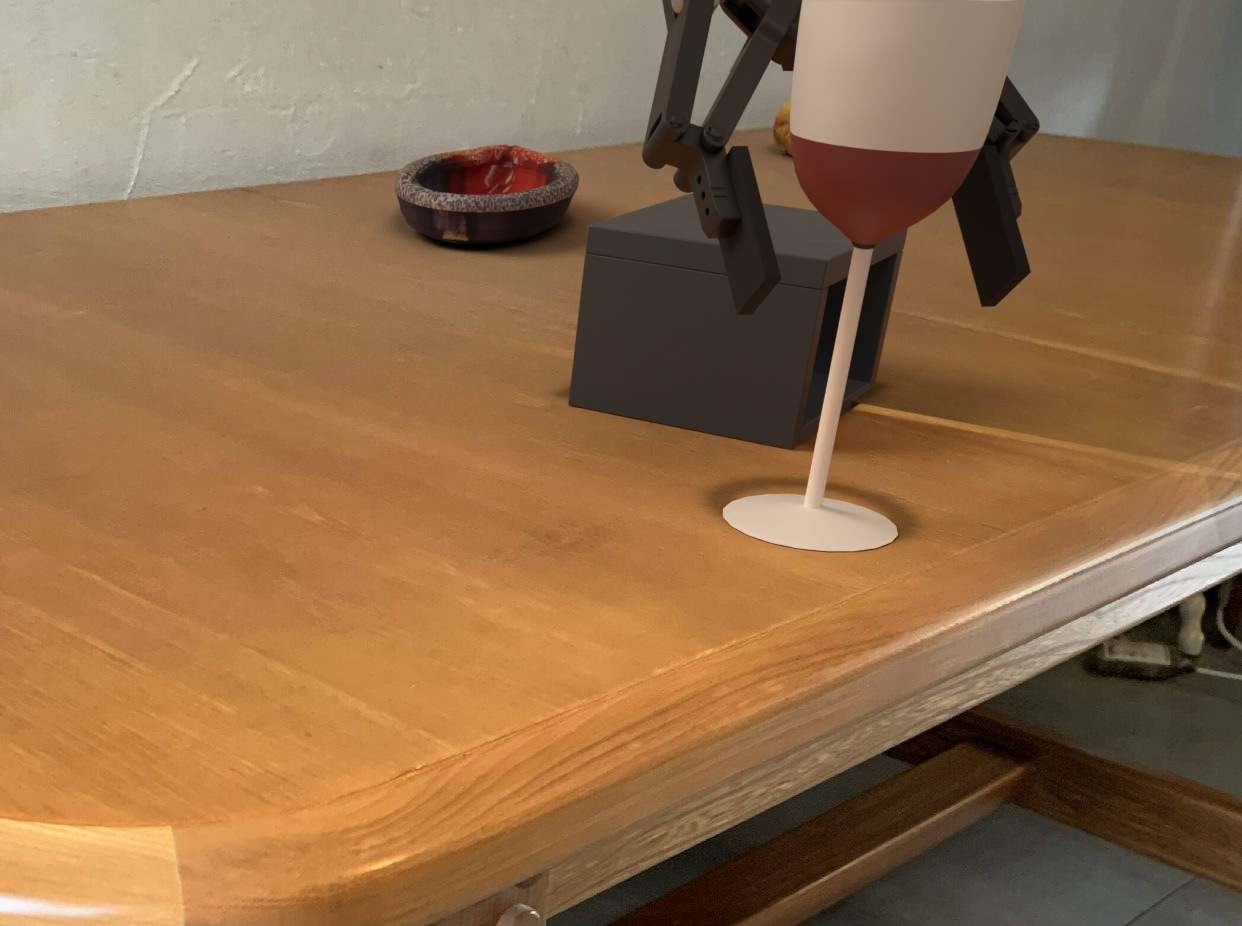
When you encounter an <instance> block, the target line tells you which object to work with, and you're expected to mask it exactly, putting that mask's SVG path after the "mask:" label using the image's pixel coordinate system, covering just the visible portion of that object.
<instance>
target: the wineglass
mask: <svg viewBox="0 0 1242 926" xmlns="http://www.w3.org/2000/svg"><path fill="white" fill-rule="evenodd" d="M1026 4H1027V0H802V5H801V12H800V19H799V27H798V35H797V44H796V53H795V61H794V71H792V72H793V73H792V82H791V93H790V94H791V95H790V97H791V107H790V138H791V149H792V155H791V156H792V162H793V166H794V172H795V175H796V178H797V181H798V184H799V186H800V188H801V190H802V192H803V193H804V195H805V196H806V198H807V200H808V201H809V202H810V203H811V205H812V206H813V207H814V208H815V209H816V211H819V212H820V213H821V214H822V215H823V216H824V217H825V218H826V219H827V220H828V221H830V222H831V223H832V224H833V225H834V226H835V227H837V228H838V229H839V230H840V231H841V232H842V233H843V234H844V235H845V236H846V237H847V238H848V239H849V240H850V241H851V242H852V244H853V246H854V249H853V254H852V259H851V264H850V269H849V275H848V280H847V285H846V290H845V295H844V300H843V305H842V310H841V316H840V321H839V326H838V331H837V336H836V341H835V346H834V352H833V357H832V362H831V367H830V372H829V377H828V382H827V387H826V393H825V398H824V403H823V408H822V413H821V418H820V423H819V429H818V432H817V433H816V438H815V439H816V440H815V445H814V450H813V453H812V454H813V455H812V460H811V466H810V470H809V475H808V480H807V485H806V491H805V494H796V493H765V494H758V495H748V496H744V497H741V498H738V499H735V500H732V501H730V502H729V503H728V504H726V505H725V506H724V507H723V508H722V518H723V519H724V520H725V521H726V523H728V524H729V525H730V526H731V527H732V528H734V529H735V530H738V531H740V532H741V533H743V534H744V535H747V536H749V537H753V538H755V539H759V540H762V541H764V542H768V543H771V544H774V545H775V544H776V545H780V546H783V547H784V546H785V547H789V548H794V549H800V550H810V551H820V552H822V551H823V552H859V551H865V550H871V549H877V548H880V547H883V546H885V545H888V544H891V543H892V542H893V541H894V540H895V538H897V536H899V532H898V528H897V525H896V524H895V523H894V522H893V521H891V520H890V519H889V518H888V517H886V516H885V515H883V514H881V513H878V512H877V511H874V510H872V509H871V508H868V507H865V506H861V505H859V504H855V503H852V502H849V501H845V500H840V499H835V498H829V497H824V495H825V491H826V485H827V481H828V476H829V472H830V471H829V470H830V465H831V460H832V456H833V451H834V446H835V442H836V441H835V440H836V437H837V431H838V425H839V420H840V418H841V417H840V412H841V407H842V402H843V397H844V392H845V387H846V382H847V377H848V372H849V367H850V362H851V357H852V352H853V347H854V342H855V337H856V332H857V327H858V322H859V317H860V312H861V307H862V302H863V297H864V292H865V287H866V282H867V277H868V272H869V267H870V262H871V257H872V252H873V248H874V247H875V246H876V245H877V244H878V243H880V242H882V241H884V240H886V239H887V238H889V237H891V236H893V235H895V234H897V233H899V232H901V231H903V230H904V229H906V228H908V229H909V228H910V227H912V226H915V225H916V224H918V223H920V222H921V221H923V220H924V219H926V218H928V217H929V216H931V215H932V214H934V213H935V212H936V211H938V210H939V209H940V208H941V207H942V206H944V205H945V204H946V203H947V202H948V201H949V200H950V199H952V196H953V194H954V193H955V192H956V191H957V190H958V188H959V187H960V186H961V184H962V183H963V181H964V179H965V178H966V176H967V175H968V173H969V171H970V169H971V168H972V166H973V164H974V162H975V161H976V159H977V157H978V155H979V152H980V150H981V148H982V146H983V144H984V141H985V139H986V137H987V134H988V131H989V129H990V126H991V123H992V120H993V117H994V114H995V111H996V108H997V105H998V102H999V98H1000V95H1001V92H1002V89H1003V85H1004V82H1005V78H1006V75H1007V74H1008V71H1009V68H1010V64H1011V61H1012V57H1013V54H1014V49H1015V45H1016V42H1017V38H1018V35H1019V31H1020V27H1021V24H1022V20H1023V15H1024V11H1025V7H1026ZM1007 76H1008V75H1007Z"/></svg>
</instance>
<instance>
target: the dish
mask: <svg viewBox="0 0 1242 926" xmlns="http://www.w3.org/2000/svg"><path fill="white" fill-rule="evenodd" d="M393 184H394V185H393V187H394V193H395V195H396V198H397V200H398V201H397V202H398V205H399V210H400V212H401V214H402V217H403V218H404V220H405V222H406V223H407V225H408V226H409V227H410V228H411V229H413V230H414V231H416V232H417V233H420V234H422V235H424V236H426V237H428V238H431V239H433V240H438V241H441V242H447V243H452V244H453V243H454V244H463V245H464V244H465V245H466V244H467V245H484V244H485V245H487V244H489V245H490V244H499V243H505V242H506V243H507V242H512V241H518V240H523V239H527V238H530V237H532V236H535V235H538V234H540V233H542V232H544V231H546V230H548V229H550V228H551V227H553V226H555V225H556V224H558V223H559V221H561V219H562V218H563V216H564V215H565V213H566V212H567V210H568V209H569V207H570V205H571V202H572V200H573V197H574V196H575V193H576V192H577V190H578V188H579V185H580V176H579V173H578V171H577V169H576V168H575V166H573V165H572V164H570V163H569V162H567V161H564V160H562V159H559V158H556V157H553V156H549V155H547V154H545V153H541V152H539V151H536V150H533V149H530V148H527V147H524V146H520V145H515V144H513V145H508V144H494V145H493V144H492V145H491V144H490V145H485V146H483V145H482V146H478V147H474V148H468V149H459V150H455V151H454V150H453V151H447V152H441V153H435V154H431V155H427V156H423V157H421V158H417V159H416V160H413V161H411V162H409V163H408V164H405V165H404V166H403V167H402V168H401V169H400V171H398V173H397V175H396V176H395V178H394V183H393Z"/></svg>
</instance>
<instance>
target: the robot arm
mask: <svg viewBox="0 0 1242 926" xmlns="http://www.w3.org/2000/svg"><path fill="white" fill-rule="evenodd" d="M661 3H662V8H663V14H664V19H665V25H666V30H667V33H666V37H665V42H664V47H663V52H662V57H661V61H660V66H659V72H658V76H657V80H656V84H655V90H654V93H653V98H652V103H651V108H650V114H649V116H648V117H649V118H648V121H647V126H646V132H645V137H644V141H643V145H642V150H641V159H642V161H643V163H644V164H645V165H646V166H647V167H649V168H650V169H652V170H661V169H662V168H664V167H665V166H666V165H667V166H670V167H672V168H676V170H675V172H674V174H673V178H672V179H673V184H674V185H675V187H676V188H677V189H678V190H679V191H680V192H683V193H686V194H690V193H692V194H693V195H694V199H695V203H696V207H697V211H698V215H699V219H700V223H701V227H702V230H703V231H704V233H705V234H706V236H707V238H708V239H718V240H719V244H720V248H721V252H722V256H723V260H724V264H725V268H726V272H727V276H728V280H729V284H730V288H731V292H732V296H733V300H734V304H735V308H736V312H737V315H752V314H753V313H754V312H755V310H756V309H757V308H758V307H759V305H760V304H761V303H762V302H763V301H764V299H765V298H766V297H767V296H768V294H769V293H770V292H771V291H772V290H773V288H774V287H775V286H776V285H777V283H778V282H779V281H780V280H781V275H780V271H779V267H778V263H777V259H776V255H775V251H774V248H773V244H772V240H771V236H770V232H769V228H768V224H767V220H766V216H765V212H764V208H763V204H762V203H763V200H762V196H761V192H760V188H759V184H758V181H757V177H756V173H755V170H754V165H753V161H752V157H751V153H750V148H749V146H748V145H732V146H731V147H730V149H729V150H728V152H727V150H726V146H727V144H728V143H729V141H730V139H731V137H732V135H733V134H734V131H735V129H736V127H737V125H738V124H739V122H740V120H741V118H742V116H743V114H744V112H745V111H746V109H747V107H748V105H749V104H750V101H751V99H752V97H753V95H754V94H755V91H756V89H757V88H758V86H759V83H760V82H761V80H762V78H763V77H764V75H765V73H766V71H767V69H768V67H769V65H770V63H771V62H773V63H775V64H777V65H780V66H781V69H782V72H793V71H794V61H795V53H796V44H797V35H798V27H799V19H800V12H801V5H802V0H661ZM719 6H720V8H721V10H722V12H723V13H724V15H726V16H727V17H728V19H729V20H730V21H731V22H732V23H733V24H734V25H735V26H736V27H737V28H738V29H739V30H740V31H741V32H742V33H743V34H744V35H745V36H746V37H747V38H746V39H745V42H744V44H743V46H742V48H741V49H740V51H739V52H738V55H737V56H736V59H735V61H734V62H733V64H732V66H731V68H730V69H729V74H728V75H727V77H726V78H725V81H724V83H723V85H722V87H721V89H720V90H719V92H718V94H717V95H716V98H715V99H714V102H713V103H712V105H711V107H710V109H709V110H708V113H707V114H706V116H705V118H704V120H703V121H702V123H701V125H697V124H694V123H691V121H692V116H693V111H694V105H695V101H696V96H697V91H698V86H699V81H700V76H701V71H702V67H703V62H704V56H705V52H706V47H707V43H708V42H707V41H708V38H709V32H710V28H711V23H712V18H713V15H714V13H715V11H716V10H717V8H718V7H719ZM1040 127H1041V124H1040V120H1039V119H1038V117H1037V116H1036V114H1035V112H1034V111H1033V109H1031V107H1030V106H1029V105H1028V103H1027V102H1026V100H1025V99H1024V98H1023V96H1022V94H1021V93H1020V91H1019V90H1018V89H1017V87H1016V86H1015V84H1014V83H1013V82H1012V80H1011V79H1010V78H1009V76H1008V75H1006V78H1005V82H1004V85H1003V89H1002V92H1001V95H1000V98H999V102H998V105H997V108H996V111H995V114H994V117H993V120H992V123H991V126H990V129H989V131H988V134H987V137H986V139H985V141H984V144H983V146H982V148H981V150H980V152H979V155H978V157H977V159H976V161H975V162H974V164H973V166H972V168H971V169H970V171H969V173H968V175H967V176H966V178H965V179H964V181H963V183H962V184H961V186H960V187H959V188H958V190H957V191H956V192H955V193H954V194H953V196H952V197H951V200H952V204H953V208H954V211H955V215H956V219H957V223H958V226H959V230H960V233H961V237H962V241H963V244H964V247H965V252H966V256H967V259H968V263H969V267H970V270H971V273H972V278H973V281H974V285H975V288H976V292H977V296H978V298H979V303H980V307H981V308H989V307H993V308H994V307H996V306H997V305H998V304H999V303H1000V302H1002V300H1003V299H1004V298H1006V297H1007V296H1008V295H1009V294H1010V293H1011V292H1012V291H1013V290H1014V289H1015V288H1016V287H1017V286H1018V285H1019V284H1021V282H1023V281H1024V279H1026V278H1027V277H1028V276H1029V275H1030V274H1031V273H1032V270H1031V266H1030V262H1029V259H1028V255H1027V253H1026V249H1025V245H1024V241H1023V238H1022V234H1021V230H1020V227H1019V223H1018V219H1019V217H1021V215H1022V209H1023V208H1022V207H1023V204H1022V200H1021V197H1020V195H1019V190H1018V187H1017V182H1016V179H1015V175H1014V172H1013V169H1012V165H1011V161H1012V160H1013V159H1014V158H1015V157H1016V156H1017V155H1018V154H1019V153H1020V151H1021V150H1022V149H1023V148H1024V147H1025V146H1026V145H1027V144H1028V143H1029V142H1030V141H1031V140H1032V138H1033V137H1034V136H1035V135H1036V134H1037V133H1038V132H1039V131H1040Z"/></svg>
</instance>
